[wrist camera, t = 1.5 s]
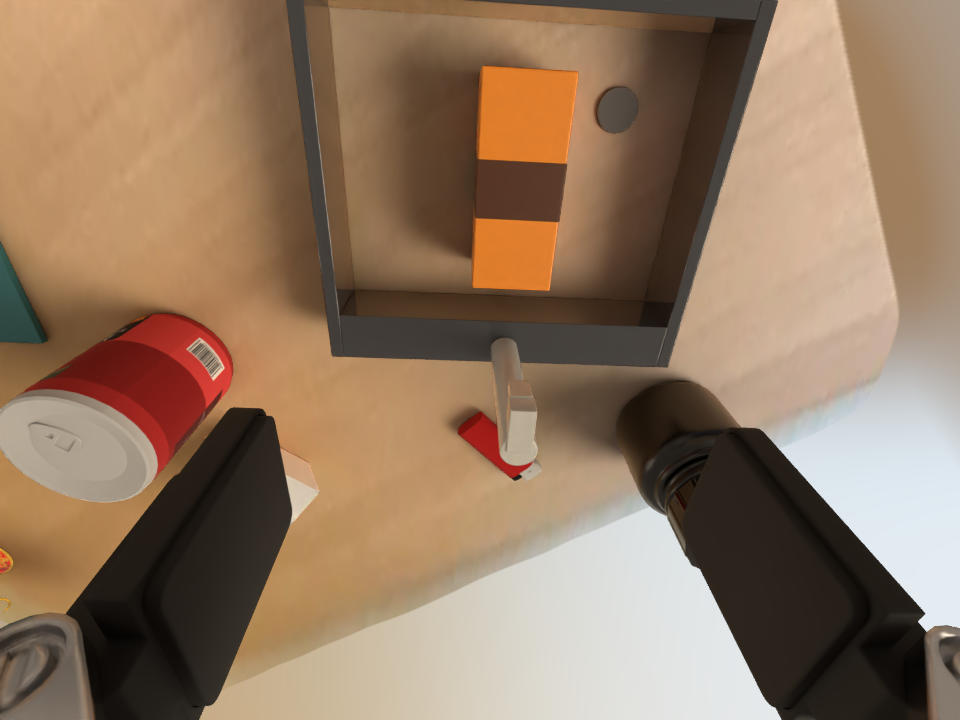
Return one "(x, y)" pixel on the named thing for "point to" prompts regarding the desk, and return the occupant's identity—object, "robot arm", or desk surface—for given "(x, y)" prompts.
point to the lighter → (494, 447)
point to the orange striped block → (520, 174)
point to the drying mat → (16, 308)
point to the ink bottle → (671, 445)
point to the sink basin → (515, 319)
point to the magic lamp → (5, 567)
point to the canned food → (117, 409)
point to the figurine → (299, 482)
